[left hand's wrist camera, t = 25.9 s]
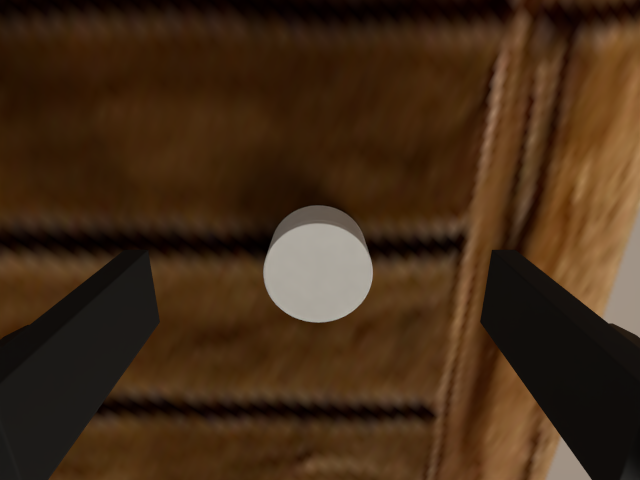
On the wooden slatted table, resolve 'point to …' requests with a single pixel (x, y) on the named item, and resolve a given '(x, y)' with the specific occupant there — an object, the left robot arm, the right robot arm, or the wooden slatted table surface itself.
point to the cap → (318, 264)
